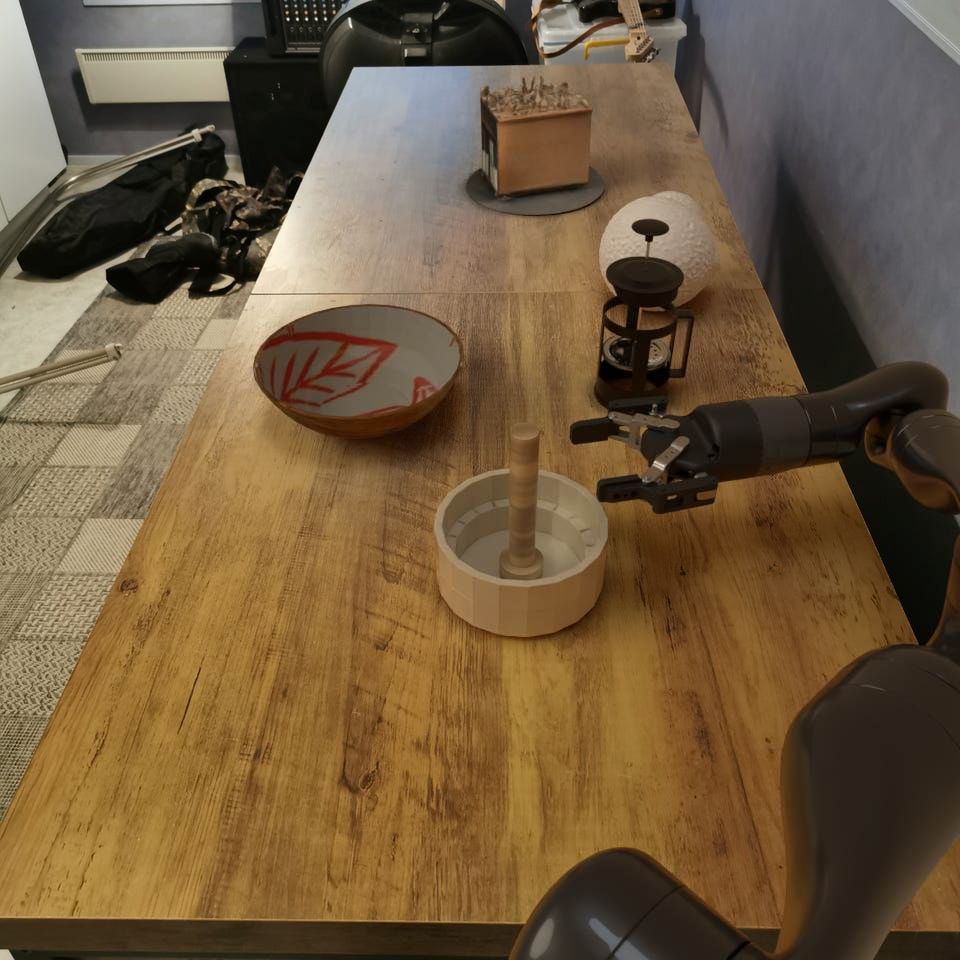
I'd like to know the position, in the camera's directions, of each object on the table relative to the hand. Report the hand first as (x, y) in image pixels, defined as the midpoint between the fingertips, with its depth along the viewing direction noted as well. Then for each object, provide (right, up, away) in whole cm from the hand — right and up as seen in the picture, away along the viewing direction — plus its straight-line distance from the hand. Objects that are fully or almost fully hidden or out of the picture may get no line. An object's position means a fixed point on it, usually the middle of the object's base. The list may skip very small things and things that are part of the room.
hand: (583, 461), depth 85 cm
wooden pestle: (-5, -11, +8) cm, 15 cm away
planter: (0, +51, +82) cm, 97 cm away
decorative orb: (+15, +24, +51) cm, 58 cm away
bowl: (-24, +7, +30) cm, 39 cm away
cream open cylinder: (-6, -12, +8) cm, 15 cm away
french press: (+10, +9, +33) cm, 35 cm away
